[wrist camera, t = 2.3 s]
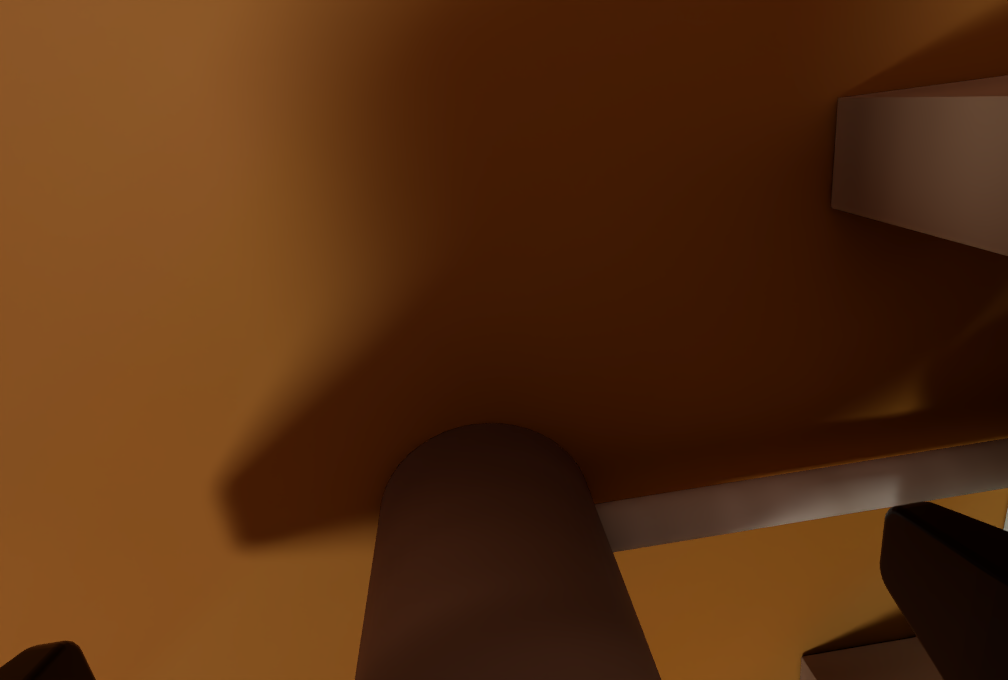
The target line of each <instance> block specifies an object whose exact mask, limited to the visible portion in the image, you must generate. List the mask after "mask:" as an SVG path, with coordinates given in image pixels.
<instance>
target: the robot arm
mask: <svg viewBox="0 0 1008 680" xmlns="http://www.w3.org/2000/svg"><path fill="white" fill-rule="evenodd" d="M880 571H881V575H882V579H883V581H884V584H885V586H886V588H887V589H888V591H889V593H890V594H891V596H892V598H893V599H894V601H895V602H896V604H897V606H898V607H899V609H900V610H901V612H902V614H903V615H904V617H905V619H906V620H907V622H908V623H909V625H910V627H911V628H912V630H913V632H914V633H915V635H916V636H917V638H918V640H919V641H920V643H921V644H922V646H923V648H924V649H925V651H926V653H927V654H928V656H929V657H930V659H931V661H932V662H933V664H934V665H935V667H936V669H937V670H938V672H939V674H940V675H941V677H942V678H943V680H1008V531H1005V530H1003V529H1000V528H997V527H995V526H992V525H990V524H987V523H984V522H982V521H979V520H976V519H974V518H971V517H969V516H966V515H963V514H961V513H958V512H955V511H953V510H950V509H947V508H945V507H942V506H940V505H937V504H934V503H931V502H915V503H909V504H903V505H897V506H894V507H892V508H890V509H889V510H888V512H887V513H886V516H885V522H884V530H883V539H882V548H881V556H880ZM0 680H96V679H95V677H94V675H93V673H92V671H91V669H90V667H89V665H88V663H87V661H86V659H85V657H84V654H83V652H82V650H81V649H80V647H79V646H78V645H77V644H75V643H74V642H72V641H60V642H54V643H48V644H42V645H36V646H33V647H30V648H28V649H26V650H24V651H23V652H21V653H20V654H18V655H17V656H16V657H14V658H13V659H12V660H10V661H9V662H7V663H6V664H5V665H3V666H2V667H0Z"/></svg>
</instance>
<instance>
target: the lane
mask: <svg viewBox="0 0 1008 680" xmlns="http://www.w3.org/2000/svg"><path fill="white" fill-rule="evenodd" d="M831 208H833V209H837V210H840V211H844V212H848V213H851V214H855V215H859V216H862V217H866V218H870V219H873V220H877V221H881V222H884V223H888V224H892V225H895V226H899V227H903V228H906V229H910V230H914V231H917V232H921V233H925V234H928V235H932V236H936V237H939V238H943V239H947V240H950V241H954V242H958V243H961V244H965V245H969V246H972V247H976V248H980V249H983V250H987V251H991V252H994V253H998V254H1002V255H1005V256H1008V75H1006V76H998V77H991V78H983V79H976V80H968V81H961V82H953V83H946V84H939V85H931V86H924V87H916V88H909V89H901V90H894V91H886V92H879V93H871V94H864V95H857V96H849V97H842V98H838V107H837V122H836V138H835V153H834V168H833V184H832V199H831ZM800 680H943V678H942V677H941V675H940V674H939V672H938V670H937V669H936V667H935V665H934V664H933V662H932V661H931V659H930V657H929V656H928V654H927V653H926V651H925V649H924V648H923V646H922V644H921V643H920V641H919V640H918V638H917V637H914V638H908V639H903V640H897V641H891V642H885V643H879V644H873V645H867V646H862V647H856V648H850V649H844V650H838V651H832V652H826V653H821V654H815V655H809V656H803V657H802V658H801V674H800Z"/></svg>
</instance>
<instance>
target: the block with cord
mask: <svg viewBox="0 0 1008 680" xmlns="http://www.w3.org/2000/svg"><path fill="white" fill-rule="evenodd" d="M1002 488H1008V438H1005V439H999V440H993V441H987V442H980V443H974V444H968V445H962V446H955V447H949V448H943V449H937V450H930V451H924V452H918V453H912V454H906V455H899V456H893V457H887V458H881V459H874V460H868V461H862V462H856V463H849V464H843V465H837V466H831V467H824V468H818V469H812V470H806V471H799V472H793V473H787V474H781V475H774V476H768V477H762V478H756V479H750V480H743V481H737V482H731V483H725V484H718V485H712V486H706V487H700V488H693V489H687V490H681V491H675V492H668V493H662V494H656V495H650V496H643V497H637V498H631V499H625V500H618V501H612V502H606V503H600V504H594V502H593V499H592V497H591V494H590V491H589V489H588V486H587V484H586V481H585V478H584V476H583V474H582V472H581V470H580V469H579V467H578V466H577V464H576V463H575V461H574V460H573V459H572V457H571V456H570V455H569V454H568V453H567V452H566V451H565V450H564V449H563V448H561V447H560V446H559V445H557V444H556V443H555V442H554V441H552V440H550V439H548V438H547V437H545V436H543V435H541V434H539V433H536V432H534V431H532V430H529V429H526V428H522V427H518V426H514V425H507V424H491V423H486V424H475V425H469V426H464V427H459V428H456V429H453V430H450V431H447V432H444V433H442V434H440V435H438V436H436V437H434V438H431V439H430V440H428V441H427V442H425V443H423V444H422V445H420V446H419V447H418V448H416V449H415V450H414V451H413V452H412V453H410V454H409V455H408V456H407V457H406V458H405V459H404V460H403V462H402V463H401V464H400V465H399V466H398V468H397V469H396V470H395V472H394V473H393V475H392V476H391V478H390V480H389V482H388V484H387V486H386V489H385V492H384V495H383V498H382V503H381V509H380V516H379V522H378V529H377V536H376V542H375V549H374V556H373V562H372V569H371V576H370V582H369V589H368V596H367V602H366V609H365V616H364V622H363V629H362V636H361V642H360V649H359V656H358V662H357V669H356V676H355V680H661V678H660V675H659V673H658V670H657V667H656V665H655V662H654V659H653V657H652V654H651V652H650V649H649V646H648V644H647V641H646V638H645V636H644V633H643V631H642V628H641V625H640V623H639V620H638V617H637V615H636V612H635V610H634V607H633V604H632V602H631V599H630V596H629V594H628V591H627V589H626V586H625V583H624V581H623V578H622V575H621V573H620V570H619V568H618V565H617V562H616V560H615V557H614V554H613V552H618V551H624V550H630V549H636V548H642V547H648V546H654V545H660V544H666V543H673V542H679V541H685V540H691V539H697V538H703V537H709V536H715V535H721V534H727V533H734V532H740V531H746V530H752V529H758V528H764V527H770V526H776V525H782V524H789V523H795V522H801V521H807V520H813V519H819V518H825V517H831V516H837V515H844V514H850V513H856V512H862V511H868V510H874V509H880V508H886V507H892V506H897V505H903V504H909V503H915V502H923V501H929V500H935V499H941V498H947V497H953V496H960V495H966V494H972V493H978V492H984V491H990V490H996V489H1002ZM1004 530H1005V531H1008V510H1007V515H1006V520H1005V525H1004Z"/></svg>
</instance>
